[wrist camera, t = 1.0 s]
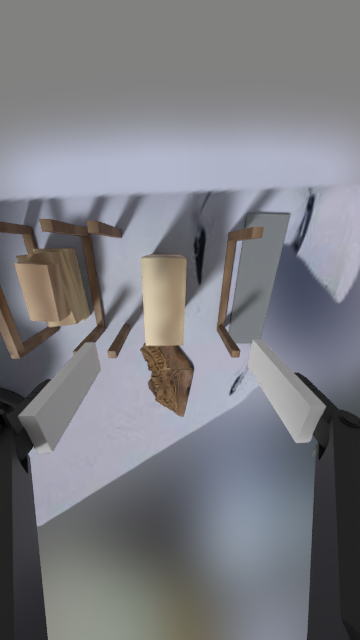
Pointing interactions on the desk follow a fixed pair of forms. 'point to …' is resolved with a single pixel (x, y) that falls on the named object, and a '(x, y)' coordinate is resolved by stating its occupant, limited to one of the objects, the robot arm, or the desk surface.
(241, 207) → the desk surface
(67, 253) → the offcut
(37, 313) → the offcut
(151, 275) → the pale wooden block
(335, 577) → the robot arm
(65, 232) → the rack
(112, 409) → the desk surface
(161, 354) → the wooden fragment
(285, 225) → the felt mat
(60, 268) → the offcut
